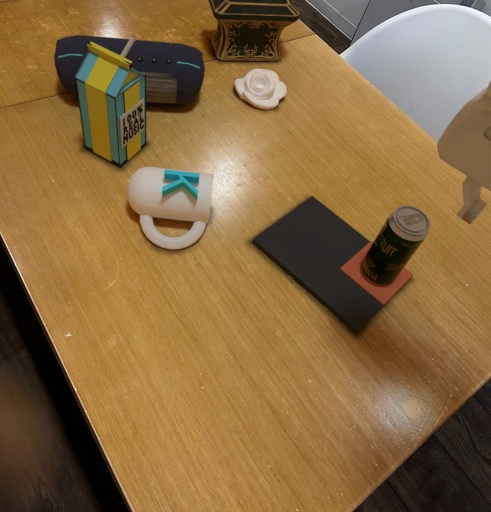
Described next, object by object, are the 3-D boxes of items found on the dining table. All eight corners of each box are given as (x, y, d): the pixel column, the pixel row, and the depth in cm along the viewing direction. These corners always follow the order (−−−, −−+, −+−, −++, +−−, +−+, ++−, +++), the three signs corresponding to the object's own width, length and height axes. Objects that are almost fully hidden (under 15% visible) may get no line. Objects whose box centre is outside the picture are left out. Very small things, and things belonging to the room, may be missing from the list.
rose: (285, 60, 95) (294, 91, 90) (280, 80, 99) (289, 111, 93) (234, 56, 93) (240, 88, 88) (230, 77, 97) (236, 109, 91)
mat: (410, 278, 74) (413, 274, 73) (356, 334, 67) (359, 330, 66) (310, 199, 81) (312, 194, 80) (251, 242, 74) (253, 237, 73)
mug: (126, 150, 67) (215, 161, 68) (132, 175, 76) (210, 184, 77) (115, 234, 64) (207, 243, 66) (122, 249, 73) (203, 257, 74)
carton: (151, 142, 83) (151, 42, 68) (121, 168, 78) (115, 67, 64) (114, 123, 84) (107, 21, 70) (84, 148, 80) (69, 44, 65)
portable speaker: (56, 108, 84) (46, 55, 76) (62, 73, 90) (53, 20, 82) (203, 117, 89) (209, 68, 81) (200, 83, 94) (205, 33, 86)
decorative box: (277, 37, 108) (299, -62, 92) (289, 63, 103) (314, -37, 87) (186, 35, 103) (192, -70, 87) (193, 63, 98) (202, -44, 82)
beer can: (381, 253, 75) (415, 199, 65) (402, 281, 72) (440, 230, 63) (352, 262, 73) (383, 209, 63) (372, 292, 70) (408, 241, 61)
